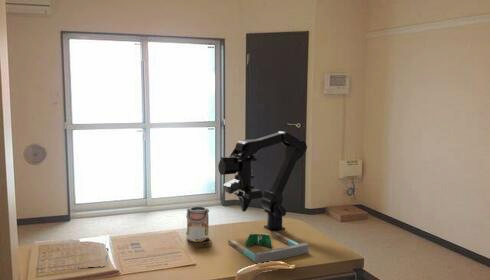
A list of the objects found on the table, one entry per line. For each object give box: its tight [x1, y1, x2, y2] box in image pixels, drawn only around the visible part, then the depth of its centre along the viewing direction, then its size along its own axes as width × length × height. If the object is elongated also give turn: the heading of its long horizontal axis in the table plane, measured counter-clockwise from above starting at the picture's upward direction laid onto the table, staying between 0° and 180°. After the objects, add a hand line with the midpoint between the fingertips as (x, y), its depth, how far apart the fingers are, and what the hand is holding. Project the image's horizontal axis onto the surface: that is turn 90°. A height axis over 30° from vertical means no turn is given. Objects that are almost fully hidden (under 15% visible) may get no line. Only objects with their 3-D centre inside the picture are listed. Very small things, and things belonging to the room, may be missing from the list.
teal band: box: [242, 239, 299, 262], centre depth 151 cm, size 8×21×2 cm, turn 120°
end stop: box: [254, 242, 309, 264], centre depth 146 cm, size 2×21×3 cm, turn 120°
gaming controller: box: [245, 231, 272, 249], centre depth 158 cm, size 9×4×6 cm
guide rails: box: [227, 231, 292, 254], centre depth 159 cm, size 11×21×2 cm, turn 120°
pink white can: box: [186, 206, 210, 242], centre depth 161 cm, size 9×8×12 cm
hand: (244, 211), depth 169 cm, fingers closed
